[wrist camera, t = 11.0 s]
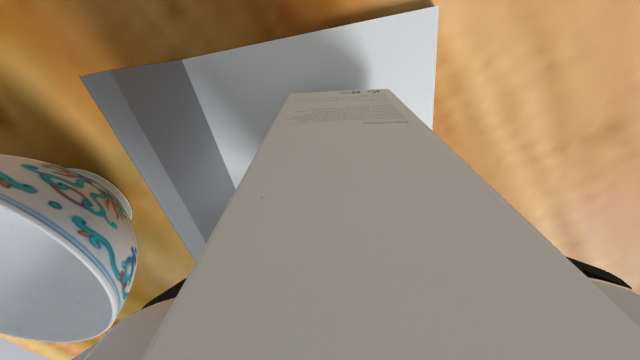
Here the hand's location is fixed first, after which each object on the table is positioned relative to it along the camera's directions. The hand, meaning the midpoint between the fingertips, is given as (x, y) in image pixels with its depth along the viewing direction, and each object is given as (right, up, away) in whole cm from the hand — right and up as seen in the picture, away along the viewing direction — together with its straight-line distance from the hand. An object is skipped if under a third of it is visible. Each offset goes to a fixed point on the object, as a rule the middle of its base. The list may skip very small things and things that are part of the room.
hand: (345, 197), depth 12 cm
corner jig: (-2, +2, +6) cm, 7 cm away
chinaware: (-21, -1, +9) cm, 23 cm away
